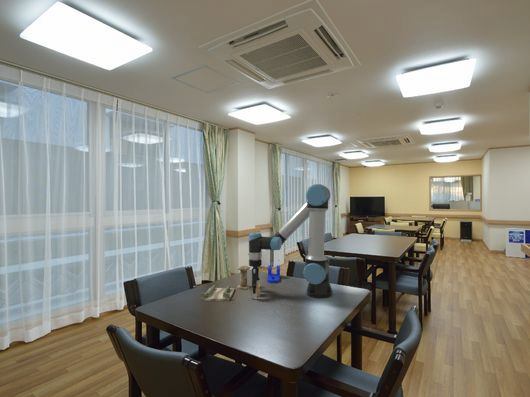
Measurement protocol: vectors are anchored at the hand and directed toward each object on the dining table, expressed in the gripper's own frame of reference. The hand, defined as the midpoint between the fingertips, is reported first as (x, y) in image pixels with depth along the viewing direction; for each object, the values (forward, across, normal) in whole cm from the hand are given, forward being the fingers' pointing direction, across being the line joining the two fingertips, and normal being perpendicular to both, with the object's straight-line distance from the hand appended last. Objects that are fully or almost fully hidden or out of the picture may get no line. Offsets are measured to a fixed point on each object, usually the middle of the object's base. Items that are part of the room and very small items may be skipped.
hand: (255, 294), depth 169 cm
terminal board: (0, 0, -22) cm, 22 cm away
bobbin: (0, -15, -9) cm, 17 cm away
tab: (0, 0, 0) cm, 0 cm away
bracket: (+1, -34, +10) cm, 36 cm away
